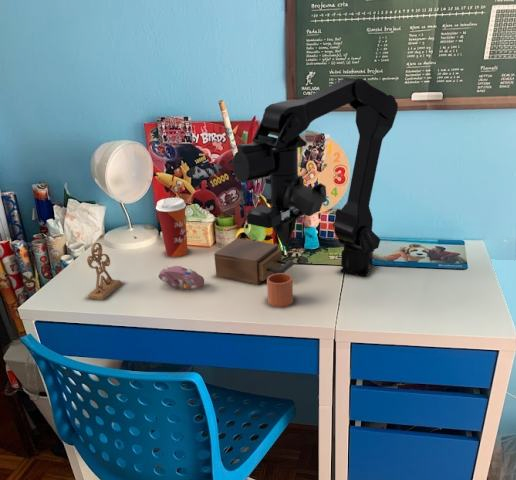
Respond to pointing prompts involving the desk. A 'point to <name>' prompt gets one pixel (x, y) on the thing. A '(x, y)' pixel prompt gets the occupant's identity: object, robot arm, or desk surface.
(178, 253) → the paper cup
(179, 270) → the purple toy car
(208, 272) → the desk surface
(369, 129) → the robot arm
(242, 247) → the cabinet
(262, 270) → the drawer
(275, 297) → the cup
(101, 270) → the wooden figurine
